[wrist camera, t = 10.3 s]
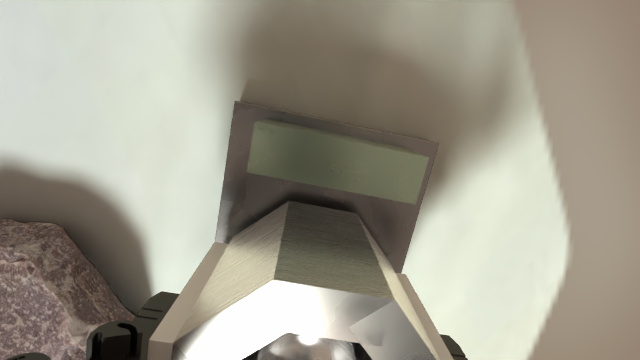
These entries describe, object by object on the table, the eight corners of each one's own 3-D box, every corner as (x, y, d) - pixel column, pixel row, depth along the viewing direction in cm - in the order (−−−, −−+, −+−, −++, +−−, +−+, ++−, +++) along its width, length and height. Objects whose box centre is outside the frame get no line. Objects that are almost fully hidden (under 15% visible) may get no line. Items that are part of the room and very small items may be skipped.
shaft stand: (239, 101, 16) (173, 99, 8) (431, 141, 17) (537, 174, 9) (200, 367, 19) (129, 543, 12) (360, 389, 20) (393, 568, 12)
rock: (64, 178, 17) (-25, 206, 12) (177, 345, 19) (138, 418, 15) (-64, 240, 17) (-193, 288, 13) (62, 394, 20) (-9, 478, 15)
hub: (239, 191, 15) (182, 265, 8) (403, 222, 16) (476, 313, 9) (217, 336, 17) (154, 496, 10) (365, 358, 17) (402, 522, 11)
